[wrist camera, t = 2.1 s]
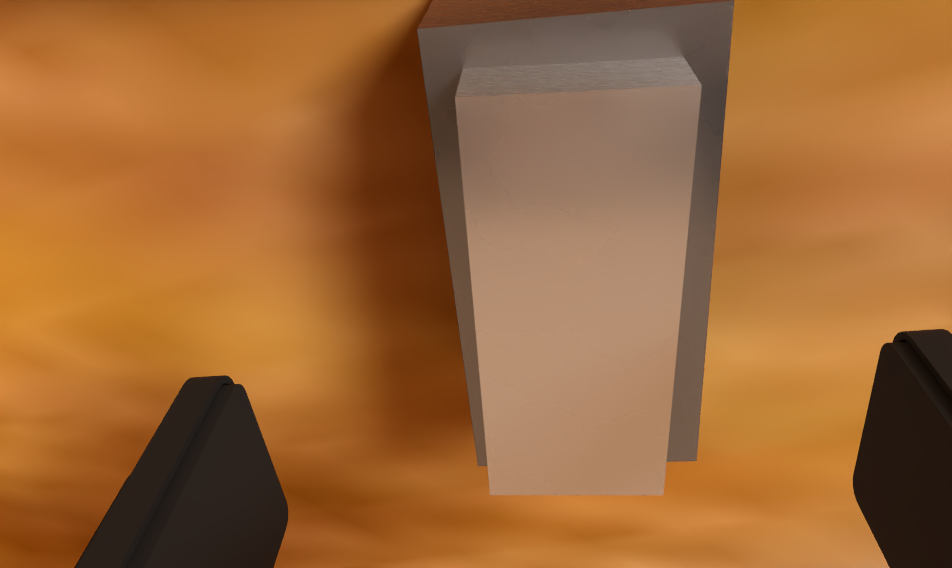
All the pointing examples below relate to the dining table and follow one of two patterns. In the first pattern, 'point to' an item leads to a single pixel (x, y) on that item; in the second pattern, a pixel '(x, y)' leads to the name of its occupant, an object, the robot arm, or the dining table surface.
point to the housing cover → (577, 266)
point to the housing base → (569, 41)
